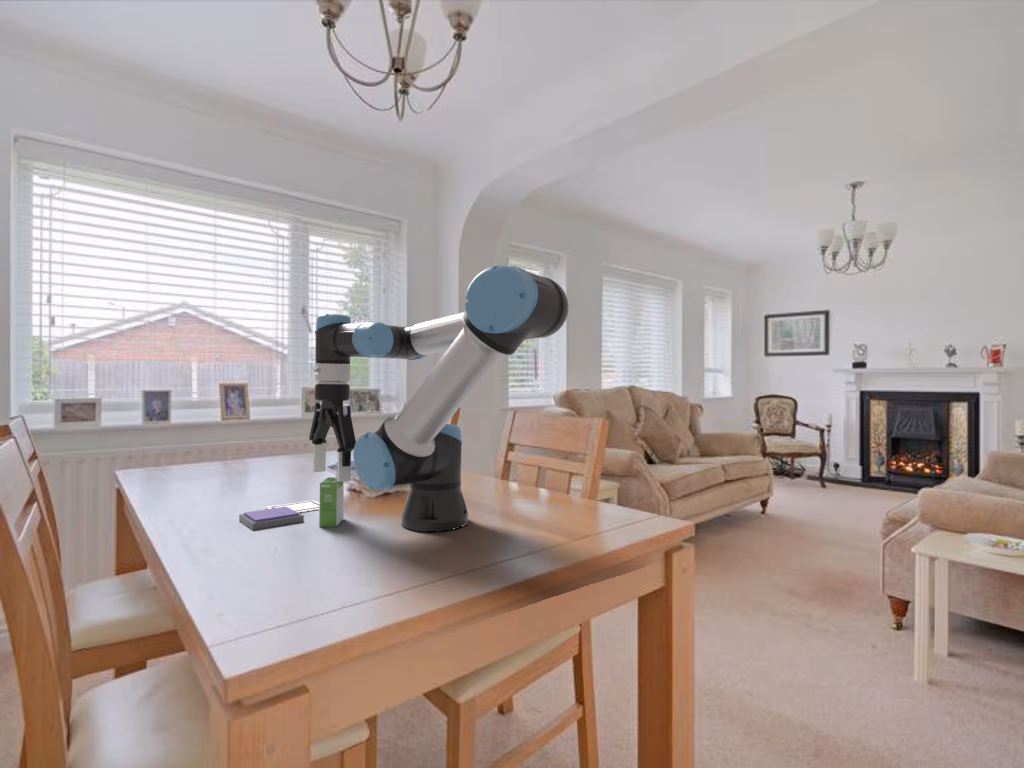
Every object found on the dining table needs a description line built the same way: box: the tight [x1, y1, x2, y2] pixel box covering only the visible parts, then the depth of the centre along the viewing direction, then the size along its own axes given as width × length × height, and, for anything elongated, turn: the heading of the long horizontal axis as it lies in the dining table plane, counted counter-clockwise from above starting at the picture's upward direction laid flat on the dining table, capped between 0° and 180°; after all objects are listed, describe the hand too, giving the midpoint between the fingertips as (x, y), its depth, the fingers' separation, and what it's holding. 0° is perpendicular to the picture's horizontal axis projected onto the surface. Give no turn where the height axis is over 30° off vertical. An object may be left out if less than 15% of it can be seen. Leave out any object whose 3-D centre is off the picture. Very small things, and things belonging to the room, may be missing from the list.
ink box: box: [318, 466, 345, 528], centre depth 124 cm, size 7×4×13 cm, turn 5°
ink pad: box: [238, 507, 305, 531], centre depth 125 cm, size 10×11×2 cm
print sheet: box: [265, 499, 320, 514], centre depth 137 cm, size 10×12×1 cm
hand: (331, 476), depth 124 cm, fingers open, 13 cm apart
